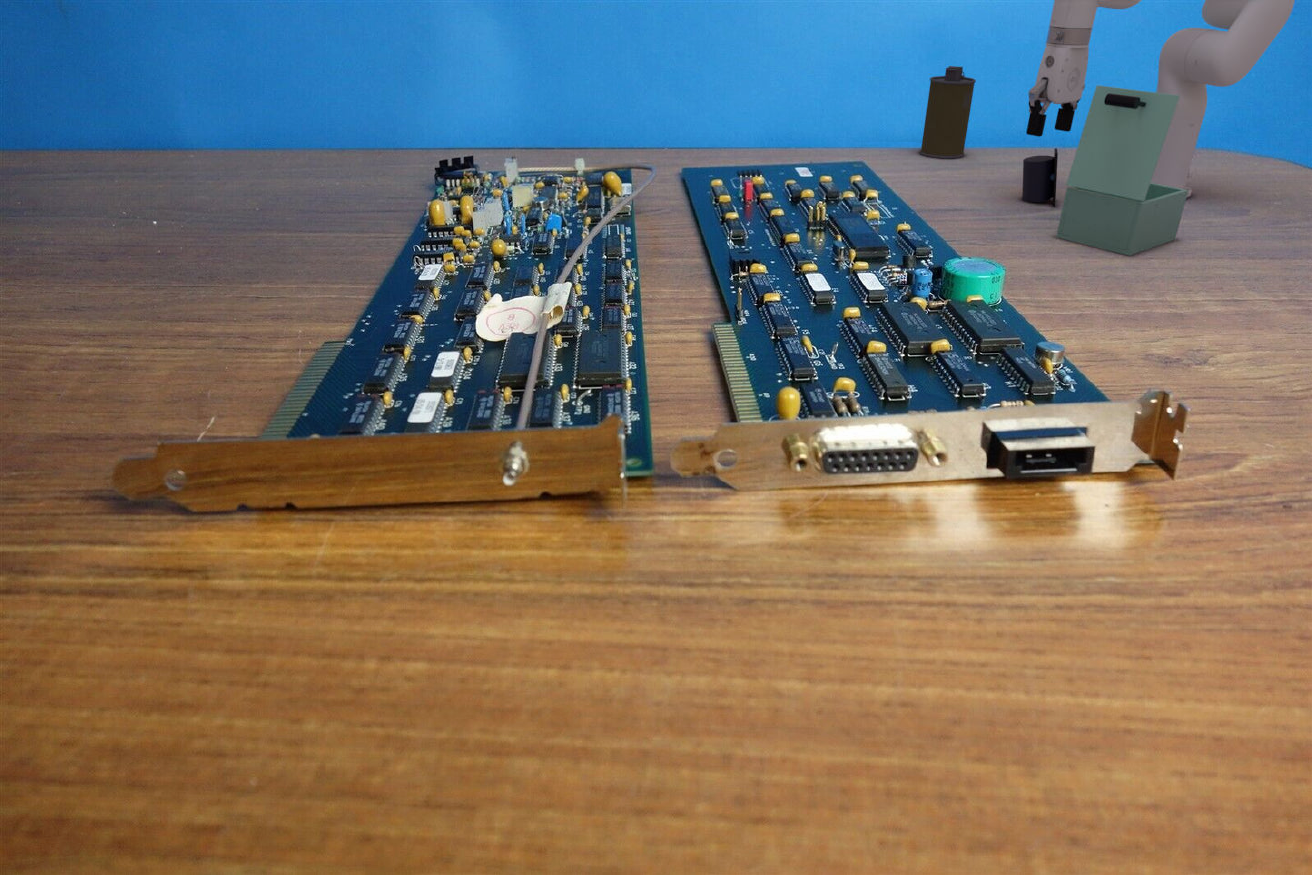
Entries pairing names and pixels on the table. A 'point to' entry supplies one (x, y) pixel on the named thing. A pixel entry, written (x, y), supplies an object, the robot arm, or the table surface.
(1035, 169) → the speaker
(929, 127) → the canister
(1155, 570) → the table surface
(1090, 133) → the cool box lid
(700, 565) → the table surface
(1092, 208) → the cool box
